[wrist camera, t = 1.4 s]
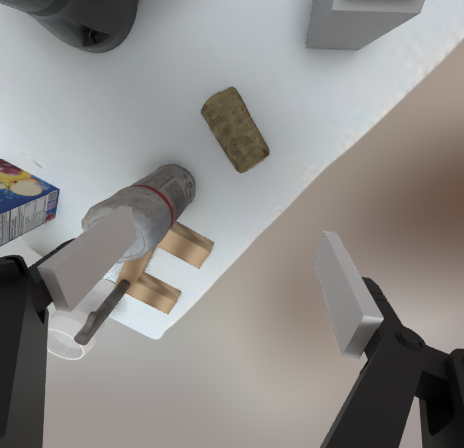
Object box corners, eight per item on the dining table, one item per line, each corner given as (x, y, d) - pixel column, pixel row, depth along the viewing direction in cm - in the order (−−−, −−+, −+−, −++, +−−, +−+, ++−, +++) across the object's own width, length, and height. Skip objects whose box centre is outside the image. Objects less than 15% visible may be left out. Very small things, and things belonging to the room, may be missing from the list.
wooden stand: (122, 277, 55) (66, 344, 39) (153, 208, 44) (94, 262, 29) (173, 303, 57) (139, 376, 41) (214, 242, 46) (189, 310, 31)
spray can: (164, 152, 39) (82, 191, 21) (205, 178, 40) (159, 234, 23) (147, 191, 43) (66, 250, 25) (185, 213, 44) (133, 284, 27)
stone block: (242, 169, 39) (239, 177, 34) (202, 107, 35) (194, 107, 31) (272, 150, 37) (273, 156, 32) (233, 82, 33) (228, 78, 29)
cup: (127, 309, 60) (88, 366, 47) (89, 299, 60) (39, 353, 47) (127, 281, 55) (84, 336, 42) (85, 269, 55) (29, 321, 42)
